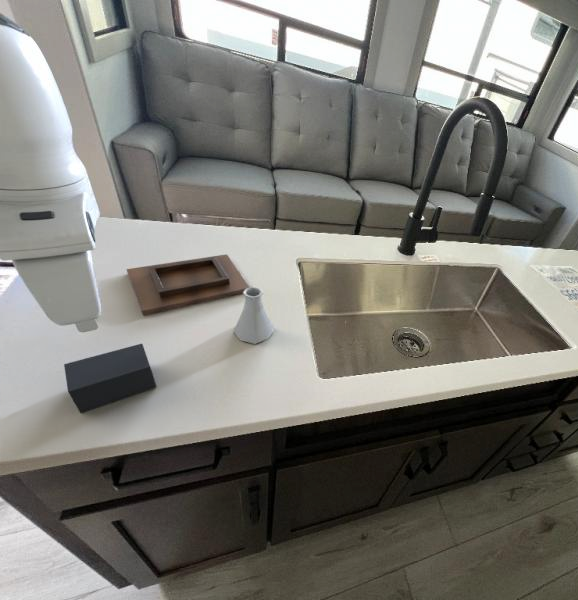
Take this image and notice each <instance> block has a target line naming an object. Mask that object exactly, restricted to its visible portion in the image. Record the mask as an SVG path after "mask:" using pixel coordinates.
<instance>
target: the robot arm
mask: <svg viewBox="0 0 578 600" xmlns="http://www.w3.org/2000/svg"><path fill="white" fill-rule="evenodd" d="M68 113H69V112H68V111H67V107H66V105H65V102H64V100H63V97H62V93H61V92H60V89H59V86H58V84H57V81H56V79H55V77H54V75H53V72H52V70H51V67H50V66H49V64H48V61H47V60H46V58H45V56H44V53H43V52H42V50H41V48H40V47H39V45H38V44H37V43H36V41H35V40H34V39H33V37H32V36H31V35H30V34H29V33H28V32H26V31H25V29H23V27H21V26H20V25H19V24H17V23H16V22H15V21H13V20H12V19H10V18H9V17H8V16H6V15H4V13H3V14H2V13H1V12H0V260H1V261H12V264H13V267H14V268H15V270H16V271H17V272H16V273H18V275H19V277H20V279H21V281H22V282H23V284H24V286H26V288H27V290H28V291H29V292H30V294H31V296H32V297H33V299H34V300H35V301H36V304H38V305H39V307H40V308H41V310H42V311H43V313H44V314H45V316H46V317H47V318H48V319H49V320H50V321H51V322H52V323H53V324H54V325H57V326H60V327H62V326H63V327H64V326H70V325H71V326H72V325H75V327H76V329H77V331H78V332H79V333H82V334H83V333H87V332H92V331H96V330H98V329H99V322H98V319H99V318H100V317H101V316H102V304H101V298H100V293H99V292H100V291H99V288H98V283H97V279H96V274H95V273H96V272H95V267H94V262H93V255H92V251H95V250H96V235H95V228H96V225H97V220H98V219H99V218H100V216H101V211H100V209H99V205H98V202H97V200H96V199H97V198H96V197H95V193H94V190H93V187H92V184H91V181H90V177H89V175H88V171H87V168H86V166H85V165H84V163H83V162H82V161H81V159H80V158H79V156H78V154H77V153H76V151H75V148H74V143H73V126H72V123H71V119H70V116H69V114H68Z"/></svg>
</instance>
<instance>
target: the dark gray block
mask: <svg viewBox="0 0 578 600" xmlns="http://www.w3.org/2000/svg"><path fill="white" fill-rule="evenodd" d="M63 367H64V373H65V380H66V387H67V394H68V395H69V397H70V398H71V400H72V401H73V403H74V405H75V406H76V408H77V410H78V411H79V413H80V414H84V413H86V412H89V411H92V410H95V409H97V408H100V407H104V406H106V405H109V404H112V403H115V402H118V401H122V400H124V399H126V398H130V397H133V396H136V395H139V394H141V393H145V392H148V391H149V390H153V389H155V388H157V387H158V386H157V383H156V380H155V377H154V374H153V370H152V368H151V365H150V361H149V359H148V356H147V353H146V351H145V347H144V344H143V343H138V344H135V345H130V346H127V347H123V348H120V349H116V350H111V351H108V352H104V353H101V354H98V355H93V356H90V357H85V358H82V359H77V360H75V361H70V362H68V363H64V365H63Z"/></svg>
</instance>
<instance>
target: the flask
mask: <svg viewBox="0 0 578 600" xmlns="http://www.w3.org/2000/svg"><path fill="white" fill-rule="evenodd" d="M242 295H243V296H244V303H243V304H244V305H243V309H242V311H241V314H240V316H239V318H238V320H237V323H236V324H235V326H234V329H233V331H232V332H233V333H234V335H235V336H236V337H237V338H238V339H239V341H241V342H246V343H249V344H253V345H257V344H258V343H261V342H263V341H266V340H268V339H270V337H271V336H272V334H273V333H274V331H275V330H276V328H275V325H274V324H273V323H272V321H271V319H270V317H269V315H268V314H267V311H266V309H265V308H264V305H263V304H264V303H263V301H262V298H263V297H262V296H263V295H264V291H263V290H262V289H261V288H260V287H256V286H250V288H246V289H245V291H244V292H243V293H242Z"/></svg>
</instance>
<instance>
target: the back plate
mask: <svg viewBox="0 0 578 600" xmlns="http://www.w3.org/2000/svg"><path fill="white" fill-rule="evenodd" d="M126 273H127V275H128V278H129V282H130V284H131V287H132V289H133V292H134V294H135V295H134V296H135V298H136V300H137V303H138V306H139V308H140V311H141V314H142V316H147V315H152V314H157V313H161V312H166V311H170V310H175V309H180V308H184V307H187V306H193V305H196V304H201V303H206V302H210V301H215V300H219V299H224V298H229V297H233V296H236V295H241V294H242V295H243V292H244V291H245V289H246V288H250V287H251V286H250V285H249V284H248V282H247V280H246V279H245V278H244V276H243V275H242V273H241V272H240V271H239V269H238V268H237V267H236V265H235V264H234V262H233V260H232V259H231V258H230V256H229V255H228V254H227V253H226V254H220V255H213V256H206V257H199V258H192V259H186V260H185V259H184V260H178V261H173V262H165V263H159V264H158V263H157V264H152V265H145V266H139V267H132V268H131V267H130V268H126Z"/></svg>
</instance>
